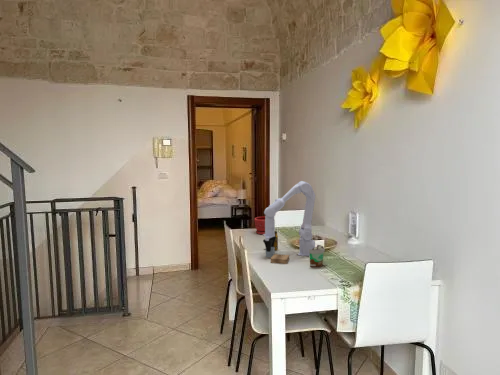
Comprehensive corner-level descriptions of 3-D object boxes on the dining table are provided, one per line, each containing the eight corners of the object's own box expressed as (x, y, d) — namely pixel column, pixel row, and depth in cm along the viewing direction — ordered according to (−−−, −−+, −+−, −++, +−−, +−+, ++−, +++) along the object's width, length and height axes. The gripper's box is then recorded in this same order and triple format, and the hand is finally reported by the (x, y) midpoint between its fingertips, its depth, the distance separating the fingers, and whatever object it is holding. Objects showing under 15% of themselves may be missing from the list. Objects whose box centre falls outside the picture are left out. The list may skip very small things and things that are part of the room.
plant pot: (260, 230, 288) (260, 215, 287) (275, 232, 280) (275, 217, 279) (251, 233, 277) (251, 218, 276) (265, 236, 270) (265, 220, 268)
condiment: (280, 250, 231) (280, 231, 230) (269, 252, 227) (269, 233, 225) (273, 247, 237) (273, 229, 236) (263, 249, 233) (262, 231, 231)
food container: (319, 269, 192) (319, 251, 191) (308, 267, 195) (309, 249, 194) (328, 263, 203) (328, 245, 202) (317, 261, 206) (317, 244, 205)
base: (289, 259, 211) (289, 255, 211) (286, 264, 203) (286, 259, 202) (274, 258, 214) (274, 254, 213) (270, 262, 205) (270, 258, 205)
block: (274, 255, 221) (274, 247, 220) (273, 257, 216) (272, 248, 216) (267, 254, 222) (267, 246, 221) (265, 256, 217) (265, 248, 217)
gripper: (266, 224, 225) (266, 246, 227) (260, 229, 212) (260, 252, 213) (277, 225, 223) (277, 247, 225) (272, 230, 209) (272, 253, 211)
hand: (269, 249), depth 219 cm, fingers open, 7 cm apart
